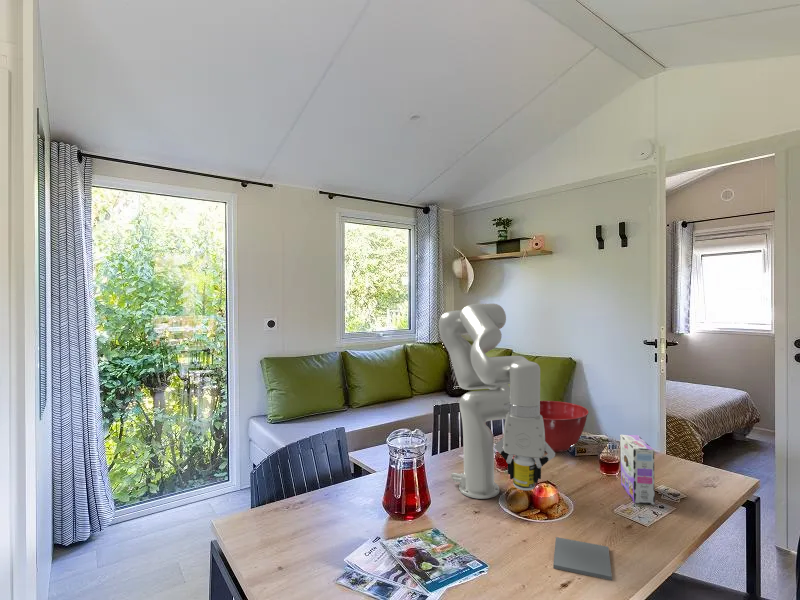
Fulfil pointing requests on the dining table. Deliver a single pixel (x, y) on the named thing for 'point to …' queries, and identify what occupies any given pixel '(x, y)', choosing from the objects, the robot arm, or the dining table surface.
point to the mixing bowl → (562, 423)
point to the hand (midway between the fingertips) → (524, 478)
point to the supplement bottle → (524, 473)
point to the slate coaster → (582, 558)
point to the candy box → (637, 469)
